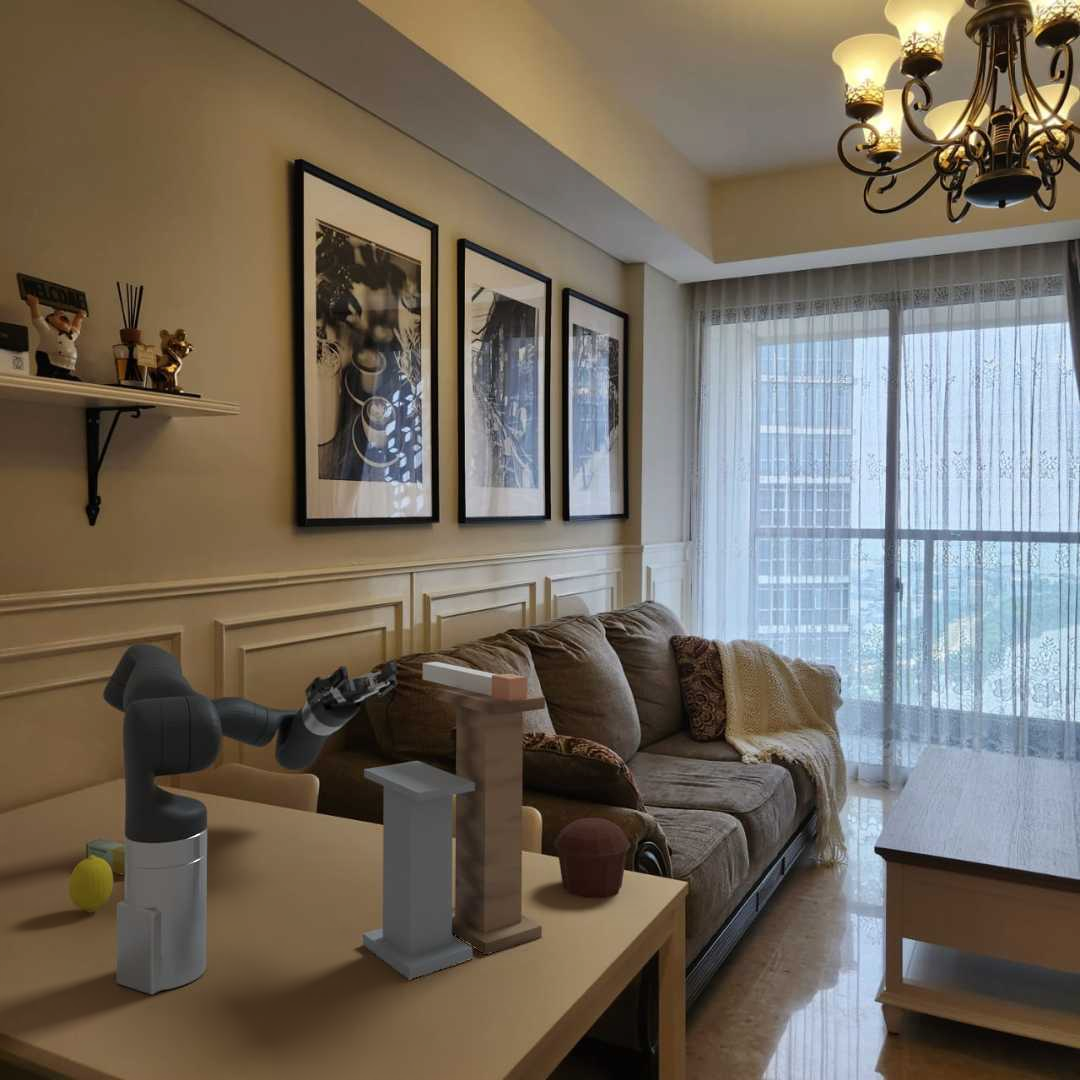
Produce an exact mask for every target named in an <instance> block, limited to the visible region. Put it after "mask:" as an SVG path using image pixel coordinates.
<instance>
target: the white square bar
mask: <svg viewBox="0 0 1080 1080" xmlns="http://www.w3.org/2000/svg"><path fill="white" fill-rule="evenodd" d="M422 680H424V681H428V682H433V683H436V684H440V685H444V686H449V687H456V688H460V689H465V690H469V691H473V692H477V693H481V694H485V695H489V696H492V697H496V698H500V699H504V700H508V701H512V700H520V699H527V693H528V677H527V676H523V675H518V674H513V673H500V674H497V673H492V672H487V671H484V670H477V669H474V668H468V667H465V666H459V665H455V664H454V665H453V664H449V663H445V662H439V661H430V662H429V661H428V662H423V663H422Z"/></svg>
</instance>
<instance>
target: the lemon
mask: <svg viewBox="0 0 1080 1080" xmlns="http://www.w3.org/2000/svg"><path fill="white" fill-rule="evenodd" d="M68 886H69V889H68V890H69V896H70V899H71V901H72V903H73V904H74V905H75V906H76V907H78V908H79V909H82V910H86V912H88V913H90V914H91V912H92V913H94V912H95V911H96V910H97V909H98V908H100V907H101V906H103V905H104V904H106V902H107V901H108V900H109V898H110V896H111V894H112V893H113V888H114V873H113V872H112V870H111V867H110V865H109V864H108V863H107V862H106V861H105V860H104V859H101V858H98V857H95V856H94V855H91V856H89V857H88V858H87V857H86V858H83V860H82V861H80V862H79V863H77V864H76V866H75V867H74V869H73V870H72V873H71V876H70V880H69V885H68Z"/></svg>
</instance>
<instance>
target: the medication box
mask: <svg viewBox="0 0 1080 1080" xmlns="http://www.w3.org/2000/svg"><path fill="white" fill-rule="evenodd" d="M85 846H86V847H85V850H86V851H85V852H86V859H87V858H88V857H89V856H91V855H94V856H95V857H98V858H101V859H104V860H105V861H106V862H107V863H108V864H109V865H110V867H111V870H112V871H114V872H118V873H123V874H125V843H124V844H123V843H119V842H115V841H112V840H111V841H110V840H106V839H102V838H97V839H94V840H91V841H89V842H87V843H86V845H85ZM114 872H113V873H114ZM118 873H117V874H118ZM123 874H122V875H123Z"/></svg>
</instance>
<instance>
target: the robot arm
mask: <svg viewBox="0 0 1080 1080" xmlns="http://www.w3.org/2000/svg"><path fill="white" fill-rule="evenodd" d="M397 674H398V669H397V665H396V664H395V662H394V661H389V662H387V663H386V664H385V665H384V666H383V667H382V668H381V669H380V670H378V671H377V672H374V673H373V672H371V671H369V672H367V673H365V674H362V675H359V676H353V677H351V678H349V673H348V670H347V666H346V665H344V666H340V667H339V668H338V669H336V670H334V672H333V673H331V674H328V675H326V676H325V677H326V678H324V679H323V677H322V676H318V677H317V676H316V678H314V679H313V680H312V681H311V683H309V685H308V687H306V689H305V690H304V691H305V696H306V697H305V698H306V701H305V704H304V705H303V706H302V707H300V709H299V710H293V709H292V710H291V709H278V708H272V707H267V706H264V705H261V704H259V703H257V702H254V701H252V700H248V699H246V698H243V697H237V696H223V697H217V698H213V699H210V698H209V697H207V696H206V695H203V694H201V693H199V692H197V691H195V689H193V687H192V685H191V684H190V681H188V680H187V678H186V677H185V676H184V675H183V668H182V666H181V663H180V662H179V661H178V660H177V658H176V657H175V656H174V655H172V654H171V653H170V652H168V651H166V650H165V649H163V648H161V647H159V646H156V645H154V644H153V645H152V644H147V643H137V644H133V645H131V646H130V647H128V648H127V650H125V652H124V653H123V654H122V656H121V658H120V660H119V662H118V663H117V665H116V667H115V669H114V671H113V673H112V674H111V677H110V678H109V680H108V681H107V684H106V685H105V688H104V690H103V693H102V698H103V699H104V701H105V702H106V703H107V704H108V705H110V707H113V708H114V709H116V710H117V711H120V712H121V713H124V716H123V723H122V725H123V726H122V746H123V762H124V780H125V781H124V782H125V783H124V785H125V806H124V807H125V810H124V812H125V813H124V815H125V818H124V844H125V875H124V882H123V883H124V886H123V887H124V896H123V899H124V900H121V901H119V902H118V903H117V905H116V973H115V974H116V980H115V982H116V984H119V985H121V986H125V987H127V988H131V989H134V990H137V991H139V992H143V993H145V994H148V995H155V994H156V993H158V992H160V991H165V990H171V989H175V988H179V987H181V986H185V985H187V984H190V983H191V982H193V981H196V980H197V979H199V978H200V977H201V976H202V975H203V974H204V973H205V971H206V969H207V910H208V909H207V903H208V901H207V900H208V899H207V897H208V896H207V895H208V893H207V891H208V886H207V885H208V884H207V881H208V879H207V878H208V876H207V875H208V809H207V806H206V805H205V804H204V802H202V801H201V800H199V799H197V798H194V797H189V796H184V795H180V794H175V793H174V792H173V793H172V792H170V791H167V790H165V789H163V788H161V787H160V786H158V785H157V784H156V783H155V778H156V777H163V776H173V775H175V776H176V775H183V774H191V773H197V772H201V771H204V770H207V769H208V768H209V767H211V766H212V765H213V764H214V763H215V762H216V760H217V758H218V756H219V755H220V751H221V747H222V742H223V741H222V739H223V737H226V738H229V739H232V740H235V741H238V742H239V743H240V742H241V743H243V744H246V745H249V746H252V747H256V748H262V747H263V748H264V747H266V746H267V745H269V744H270V743H272V740H273V739H274V738H275V736H276V733H277V736H276V742H275V749H274V750H275V751H274V759H275V760H276V763H277V764H278V765H279V766H281V767H282V768H283V769H286V770H289V771H298V770H302V769H305V768H307V767H308V766H310V765H312V764H313V763H314V761H315V760H316V758H317V757H319V754H320V752H321V751H322V748H323V746H324V744H325V743H326V740H327V738H329V737H330V736H331V735H332V734H333V733H334V732H336V731H338V730H340V729H341V728H342V727H343V726H344V725H346V724H347V722H349V721H350V720H352V718H353V717H354V716H355V715H356V714H357V713H358V712H359V711H360V708H361V706H362V702H363V701H364V700H365V699H366V698H368V697H370V696H372V695H375V694H376V696H377V698H383V697H385V695H387V693H389V692H390V691H391V690H392V689H394V688H395V687H396V686H398V680H397V676H396V675H397ZM377 678H378V679H377ZM367 679H368V681H369V684H370V685H369V684H368V682H367V681H366V680H367Z"/></svg>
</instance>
